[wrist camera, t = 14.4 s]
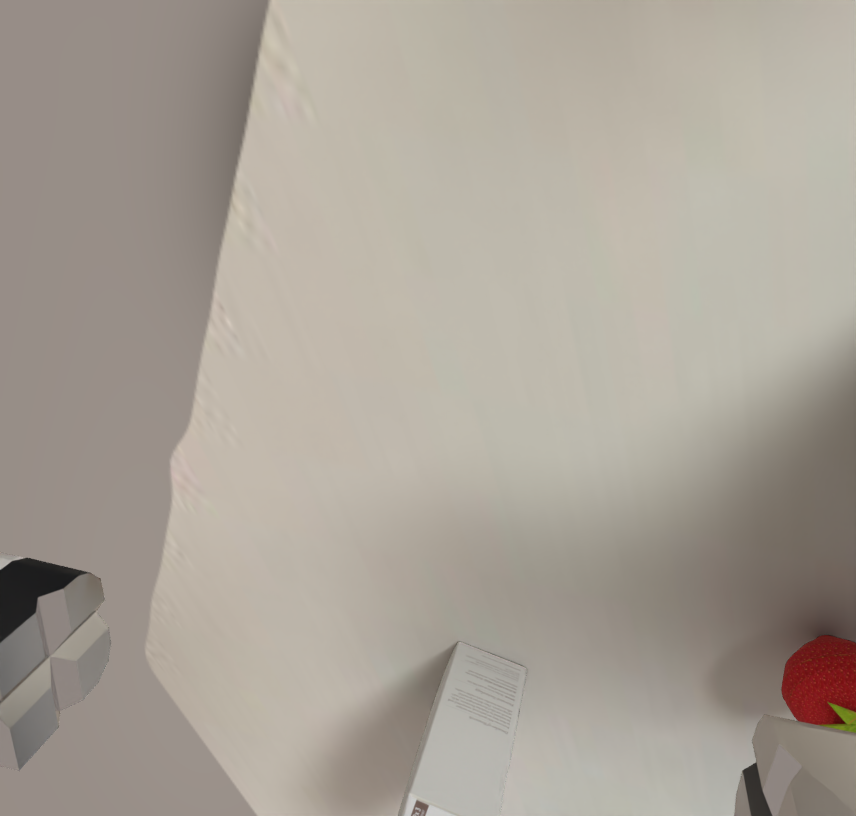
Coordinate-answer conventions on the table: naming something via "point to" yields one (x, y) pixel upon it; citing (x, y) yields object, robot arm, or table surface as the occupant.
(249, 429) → the table surface
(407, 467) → the table surface
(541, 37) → the table surface
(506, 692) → the skincare box
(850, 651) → the strawberry
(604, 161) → the table surface
